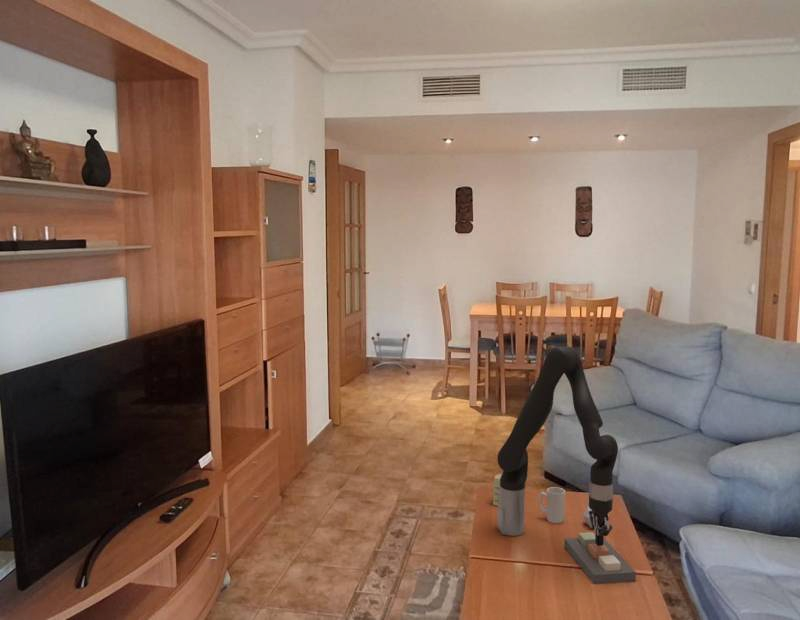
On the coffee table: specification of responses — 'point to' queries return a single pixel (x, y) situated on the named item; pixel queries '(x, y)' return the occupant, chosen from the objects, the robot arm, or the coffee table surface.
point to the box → (496, 490)
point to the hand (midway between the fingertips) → (599, 544)
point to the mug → (553, 504)
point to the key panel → (592, 566)
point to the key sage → (586, 539)
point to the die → (587, 517)
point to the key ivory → (609, 563)
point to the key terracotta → (597, 551)
